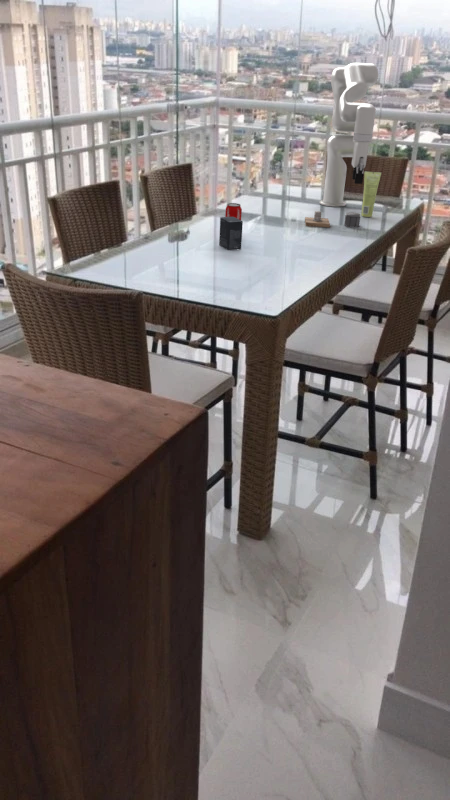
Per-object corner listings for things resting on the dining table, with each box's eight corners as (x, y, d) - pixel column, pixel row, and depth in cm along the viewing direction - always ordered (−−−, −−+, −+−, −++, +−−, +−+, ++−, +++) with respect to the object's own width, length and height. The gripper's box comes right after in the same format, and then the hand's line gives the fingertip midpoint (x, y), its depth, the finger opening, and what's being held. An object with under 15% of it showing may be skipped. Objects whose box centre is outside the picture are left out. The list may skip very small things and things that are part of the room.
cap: (343, 223, 304) (345, 211, 302) (358, 224, 304) (359, 212, 302) (345, 226, 299) (346, 214, 296) (359, 227, 298) (361, 215, 296)
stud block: (304, 220, 305) (305, 208, 303) (327, 221, 305) (329, 210, 303) (305, 226, 297) (306, 213, 294) (329, 227, 296) (330, 215, 294)
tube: (366, 214, 322) (372, 170, 313) (375, 216, 319) (381, 172, 310) (358, 215, 319) (364, 171, 310) (367, 218, 316) (373, 173, 307)
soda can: (242, 234, 279) (244, 204, 273) (236, 238, 273) (238, 207, 268) (228, 232, 281) (229, 202, 275) (221, 235, 276) (223, 204, 270)
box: (241, 249, 259) (243, 220, 254) (227, 250, 257) (229, 221, 252) (232, 244, 265) (233, 216, 261) (218, 245, 263) (219, 216, 258)
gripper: (351, 135, 293) (346, 177, 300) (355, 140, 277) (350, 184, 285) (369, 136, 292) (363, 178, 300) (374, 141, 277) (368, 185, 285)
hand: (357, 181), depth 293 cm, fingers open, 9 cm apart
